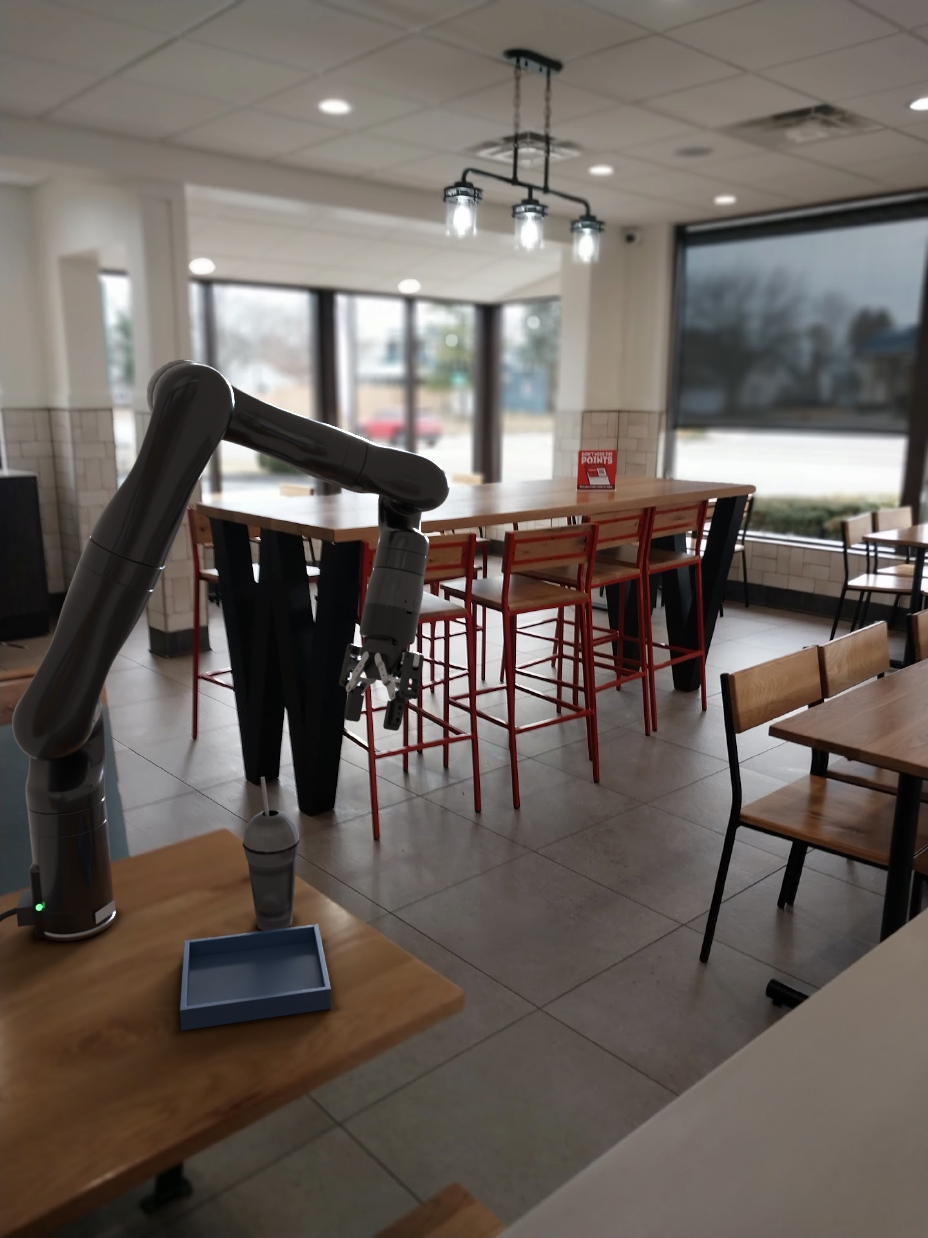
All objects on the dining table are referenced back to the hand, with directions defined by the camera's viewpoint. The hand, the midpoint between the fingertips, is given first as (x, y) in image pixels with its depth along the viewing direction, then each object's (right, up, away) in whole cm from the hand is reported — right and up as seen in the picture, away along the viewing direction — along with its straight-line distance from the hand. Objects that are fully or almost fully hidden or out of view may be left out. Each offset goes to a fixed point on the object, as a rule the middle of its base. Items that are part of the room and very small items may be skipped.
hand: (370, 725), depth 126 cm
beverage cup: (-12, -26, -2) cm, 29 cm away
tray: (-12, -29, -15) cm, 34 cm away
